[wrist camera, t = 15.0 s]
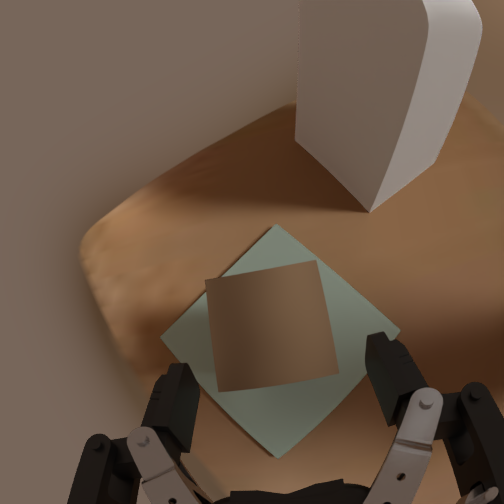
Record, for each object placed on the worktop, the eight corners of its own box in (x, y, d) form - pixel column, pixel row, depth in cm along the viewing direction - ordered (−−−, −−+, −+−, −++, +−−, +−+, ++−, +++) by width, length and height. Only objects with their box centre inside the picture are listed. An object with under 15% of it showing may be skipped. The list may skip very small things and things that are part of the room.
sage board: (276, 226, 25) (276, 223, 24) (398, 331, 20) (400, 330, 19) (162, 337, 22) (159, 337, 22) (278, 456, 17) (277, 458, 17)
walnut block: (305, 304, 21) (316, 259, 12) (316, 366, 19) (339, 373, 10) (242, 315, 21) (204, 279, 12) (251, 377, 20) (218, 392, 10)
